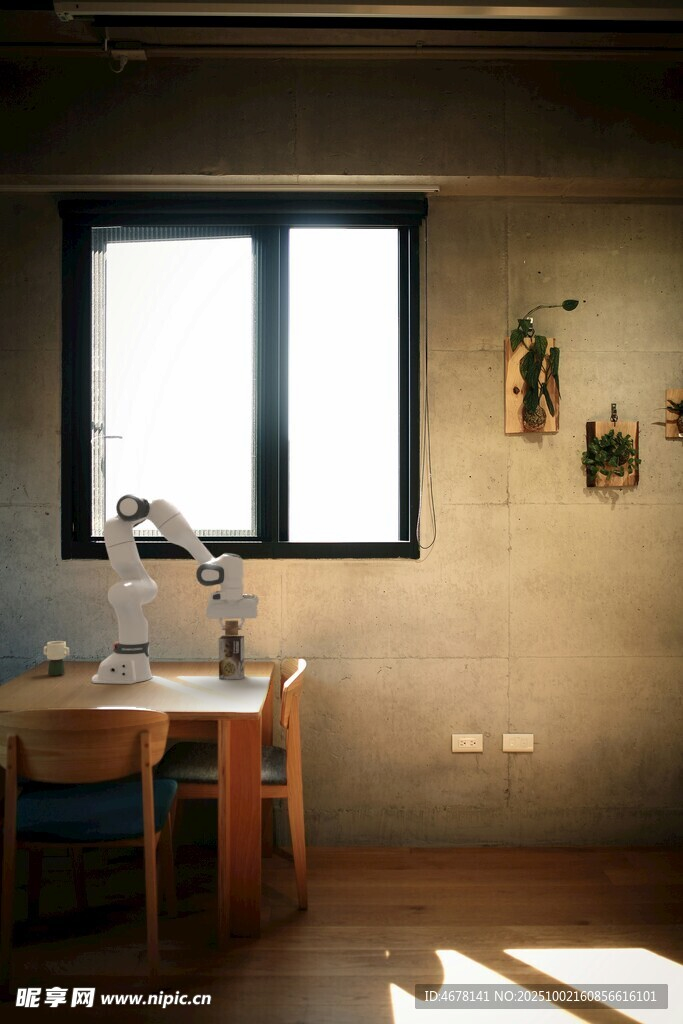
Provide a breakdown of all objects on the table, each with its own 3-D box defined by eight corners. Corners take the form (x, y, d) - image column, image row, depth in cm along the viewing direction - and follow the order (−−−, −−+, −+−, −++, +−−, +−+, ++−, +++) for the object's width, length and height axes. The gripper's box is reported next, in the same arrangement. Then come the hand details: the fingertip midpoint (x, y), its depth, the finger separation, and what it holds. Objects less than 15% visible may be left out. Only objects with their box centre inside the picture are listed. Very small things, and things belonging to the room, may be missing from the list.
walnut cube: (225, 635, 295) (225, 622, 295) (225, 633, 300) (225, 620, 300) (238, 635, 296) (238, 622, 296) (238, 633, 301) (238, 620, 301)
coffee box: (244, 676, 301) (245, 635, 301) (241, 679, 295) (241, 638, 295) (222, 675, 302) (222, 635, 302) (218, 679, 296) (218, 637, 295)
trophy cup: (73, 673, 303) (73, 641, 303) (64, 677, 296) (64, 644, 296) (48, 672, 305) (48, 640, 305) (38, 676, 298) (38, 643, 298)
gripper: (258, 593, 302) (258, 627, 303) (206, 593, 300) (206, 628, 300) (258, 595, 296) (258, 630, 296) (205, 595, 294) (205, 631, 294)
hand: (231, 629), depth 298 cm, fingers open, 5 cm apart
